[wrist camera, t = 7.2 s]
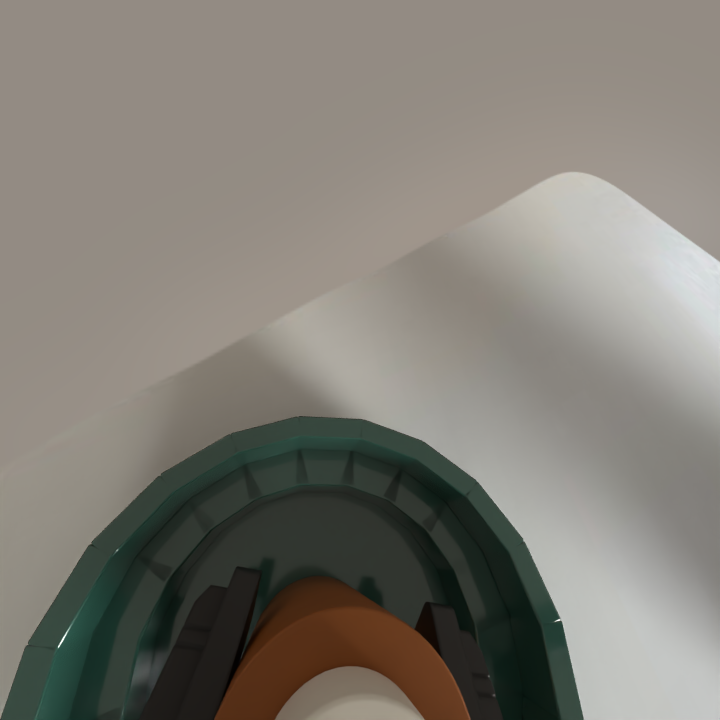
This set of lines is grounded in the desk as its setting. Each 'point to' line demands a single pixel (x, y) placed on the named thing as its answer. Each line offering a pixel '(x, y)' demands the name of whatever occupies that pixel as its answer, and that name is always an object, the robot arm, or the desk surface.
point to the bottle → (338, 662)
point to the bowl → (296, 565)
